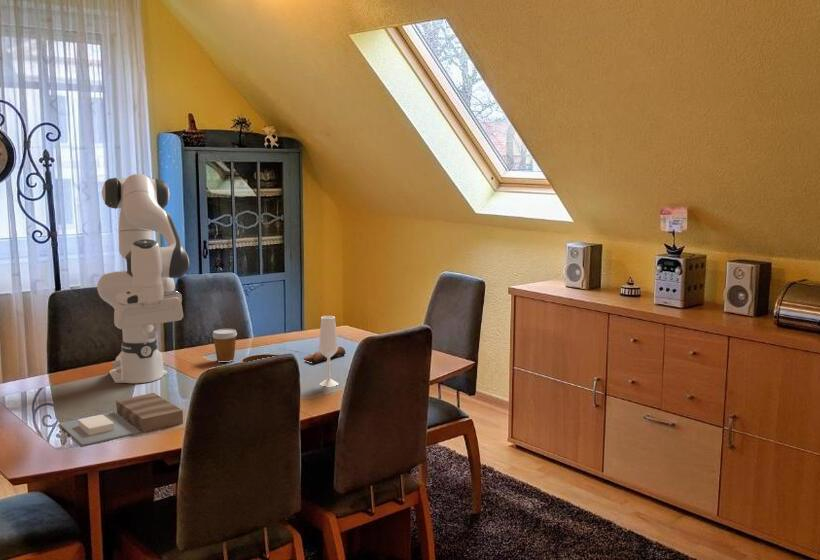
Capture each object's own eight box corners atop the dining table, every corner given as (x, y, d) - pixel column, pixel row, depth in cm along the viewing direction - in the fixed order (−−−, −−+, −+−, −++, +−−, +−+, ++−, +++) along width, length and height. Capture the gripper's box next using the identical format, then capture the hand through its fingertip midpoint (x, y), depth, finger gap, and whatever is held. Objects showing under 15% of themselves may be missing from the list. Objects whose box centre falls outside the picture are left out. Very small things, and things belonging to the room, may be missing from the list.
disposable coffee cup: (231, 365, 290) (230, 334, 288) (208, 363, 292) (207, 333, 290) (242, 358, 299) (241, 329, 297) (220, 357, 301) (219, 327, 299)
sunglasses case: (330, 351, 309) (336, 339, 306) (341, 362, 306) (347, 350, 303) (298, 361, 295) (304, 348, 292) (309, 372, 292) (315, 359, 289)
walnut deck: (116, 412, 235) (116, 400, 235) (154, 404, 243) (153, 392, 242) (143, 432, 219) (142, 419, 218) (183, 423, 226) (182, 410, 226)
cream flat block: (102, 414, 226) (102, 420, 226) (77, 419, 222) (78, 426, 222) (114, 423, 219) (114, 429, 219) (89, 428, 214) (89, 435, 214)
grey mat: (58, 424, 224) (58, 423, 224) (113, 413, 235) (113, 411, 234) (82, 446, 208) (82, 444, 208) (140, 433, 218) (140, 431, 218)
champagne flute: (325, 388, 261) (324, 320, 257) (315, 383, 266) (314, 316, 263) (342, 384, 265) (341, 317, 261) (332, 380, 270) (331, 314, 266)
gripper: (177, 288, 236) (179, 331, 239) (110, 296, 223) (113, 341, 226) (185, 291, 231) (187, 335, 234) (118, 300, 218) (120, 346, 221)
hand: (150, 338), depth 230 cm, fingers closed
